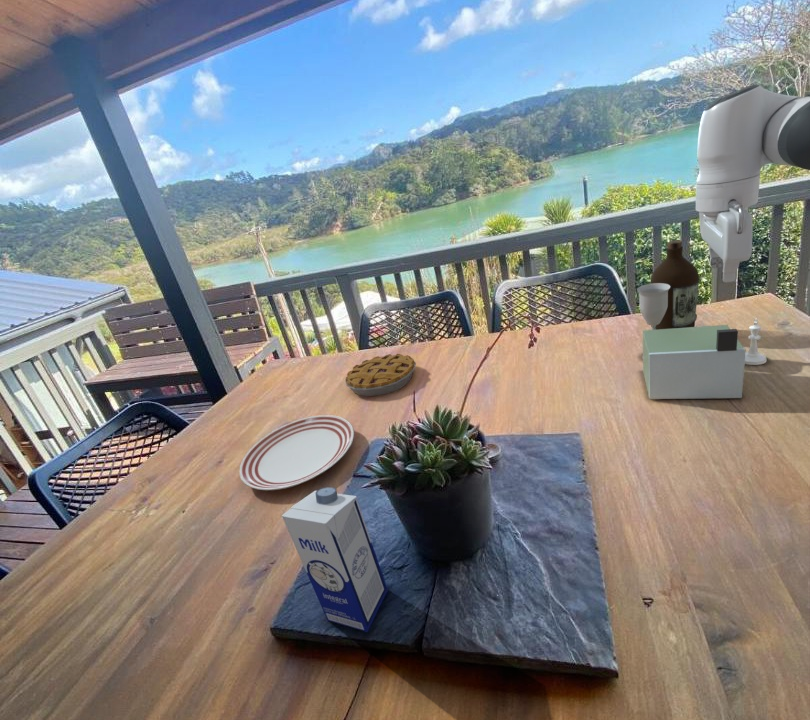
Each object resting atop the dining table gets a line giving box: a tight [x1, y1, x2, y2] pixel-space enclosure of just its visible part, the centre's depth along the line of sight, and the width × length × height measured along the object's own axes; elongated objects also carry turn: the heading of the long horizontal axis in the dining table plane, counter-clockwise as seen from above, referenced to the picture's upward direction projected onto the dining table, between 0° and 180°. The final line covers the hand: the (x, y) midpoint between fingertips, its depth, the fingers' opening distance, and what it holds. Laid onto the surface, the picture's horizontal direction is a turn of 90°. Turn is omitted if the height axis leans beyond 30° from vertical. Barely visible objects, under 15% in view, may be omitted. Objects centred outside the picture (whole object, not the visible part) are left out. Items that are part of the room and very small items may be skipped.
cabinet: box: [642, 324, 744, 397], centre depth 93 cm, size 12×16×11 cm
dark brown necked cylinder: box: [649, 240, 700, 330], centre depth 112 cm, size 11×11×25 cm
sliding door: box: [648, 328, 747, 400], centre depth 87 cm, size 1×16×15 cm, turn 69°
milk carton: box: [281, 486, 389, 633], centre depth 60 cm, size 7×7×20 cm
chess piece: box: [745, 318, 768, 366], centre depth 96 cm, size 5×5×10 cm
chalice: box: [636, 283, 670, 359], centre depth 105 cm, size 7×7×18 cm
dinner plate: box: [239, 414, 355, 491], centre depth 103 cm, size 27×27×3 cm
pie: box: [344, 353, 417, 397], centre depth 132 cm, size 22×22×5 cm
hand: (721, 273), depth 81 cm, fingers open, 8 cm apart
